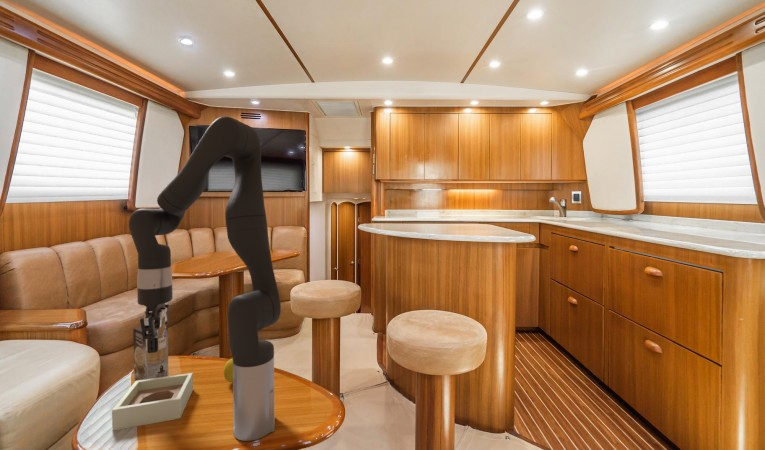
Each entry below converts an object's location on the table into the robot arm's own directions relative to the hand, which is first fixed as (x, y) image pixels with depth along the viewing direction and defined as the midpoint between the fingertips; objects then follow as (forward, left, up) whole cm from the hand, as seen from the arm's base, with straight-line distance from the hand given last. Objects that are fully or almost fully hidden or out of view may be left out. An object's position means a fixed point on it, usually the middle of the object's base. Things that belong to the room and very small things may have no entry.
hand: (156, 347), depth 84 cm
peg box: (0, 0, -16) cm, 16 cm away
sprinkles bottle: (0, 0, -3) cm, 3 cm away
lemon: (-18, -7, -16) cm, 25 cm away
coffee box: (+7, -19, -16) cm, 26 cm away
